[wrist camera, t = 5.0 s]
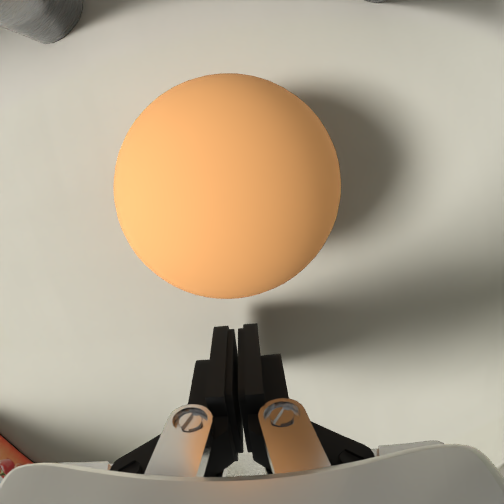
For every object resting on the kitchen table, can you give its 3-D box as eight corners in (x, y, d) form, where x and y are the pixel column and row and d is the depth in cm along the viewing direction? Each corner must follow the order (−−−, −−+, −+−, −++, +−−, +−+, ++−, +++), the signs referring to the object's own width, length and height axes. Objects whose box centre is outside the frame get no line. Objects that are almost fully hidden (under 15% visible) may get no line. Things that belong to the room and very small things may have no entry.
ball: (39, 122, 4) (140, 75, 9) (120, 342, 8) (164, 223, 13) (394, 97, 4) (321, 65, 9) (345, 342, 8) (313, 219, 13)
